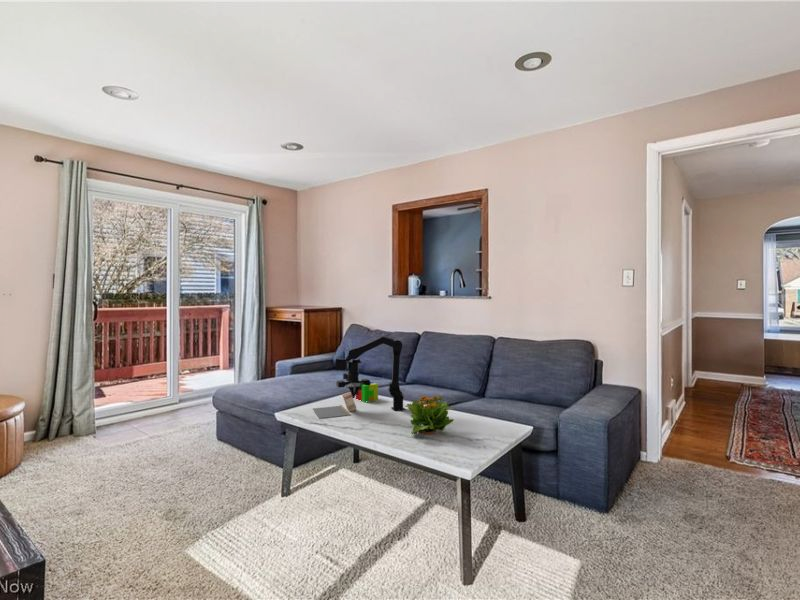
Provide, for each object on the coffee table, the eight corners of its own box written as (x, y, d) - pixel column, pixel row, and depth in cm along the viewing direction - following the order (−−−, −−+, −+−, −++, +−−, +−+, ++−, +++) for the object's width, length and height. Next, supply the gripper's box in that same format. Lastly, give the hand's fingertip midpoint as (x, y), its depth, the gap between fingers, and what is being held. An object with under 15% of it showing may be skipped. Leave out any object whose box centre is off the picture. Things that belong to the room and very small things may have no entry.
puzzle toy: (368, 396, 269) (368, 381, 269) (378, 399, 261) (378, 383, 261) (355, 399, 263) (355, 383, 262) (364, 402, 255) (364, 386, 255)
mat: (350, 415, 227) (350, 414, 227) (319, 418, 221) (319, 417, 221) (341, 406, 246) (341, 405, 246) (312, 409, 239) (312, 408, 239)
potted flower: (394, 426, 208) (394, 391, 207) (436, 420, 217) (436, 387, 217) (417, 442, 185) (417, 403, 185) (462, 435, 195) (462, 397, 194)
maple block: (356, 408, 236) (351, 394, 234) (349, 411, 234) (344, 397, 233) (353, 406, 241) (348, 391, 240) (347, 409, 240) (342, 394, 239)
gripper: (365, 367, 249) (365, 393, 249) (334, 369, 242) (333, 396, 242) (370, 370, 238) (370, 398, 239) (338, 372, 232) (338, 400, 232)
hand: (353, 398), depth 238 cm, fingers closed
